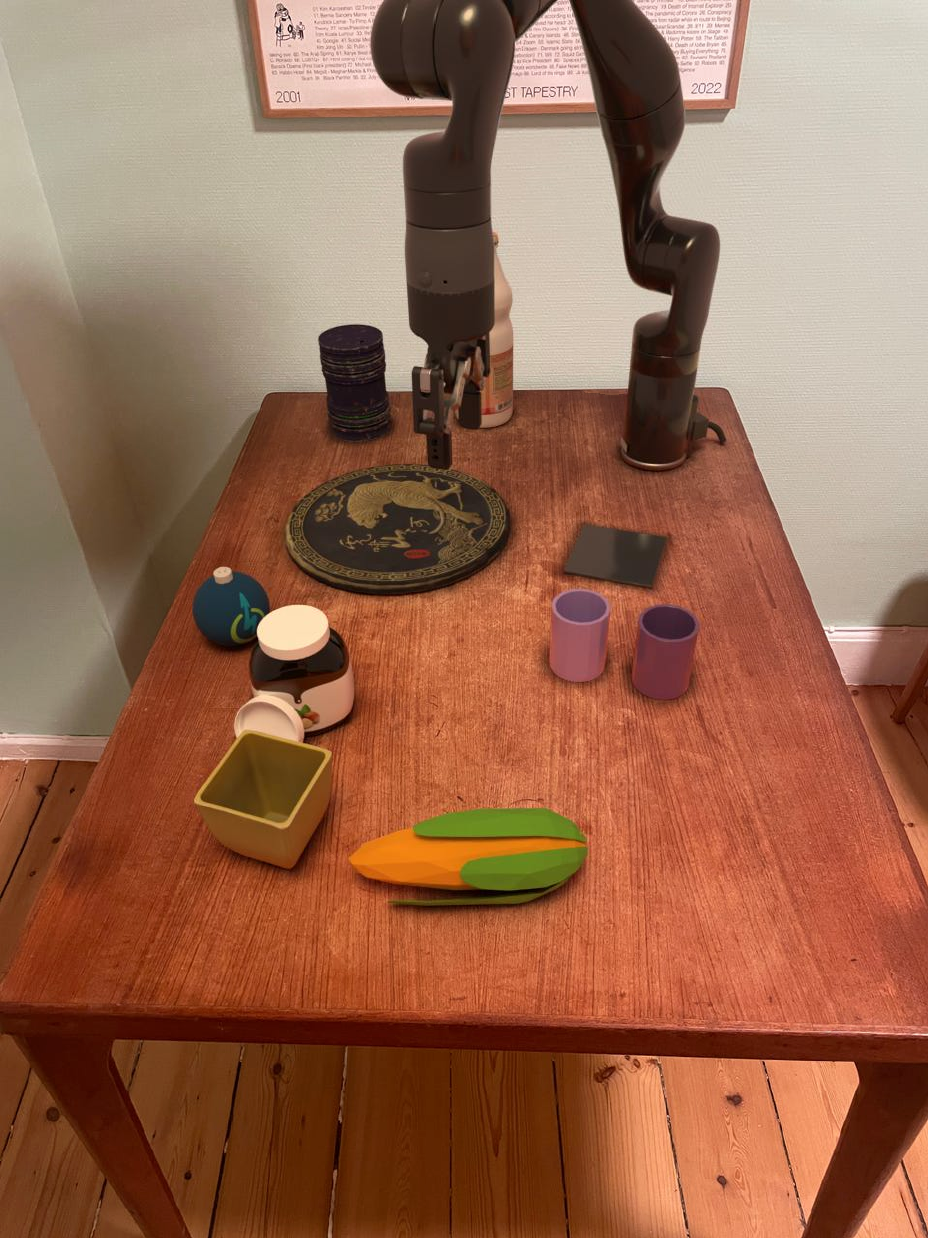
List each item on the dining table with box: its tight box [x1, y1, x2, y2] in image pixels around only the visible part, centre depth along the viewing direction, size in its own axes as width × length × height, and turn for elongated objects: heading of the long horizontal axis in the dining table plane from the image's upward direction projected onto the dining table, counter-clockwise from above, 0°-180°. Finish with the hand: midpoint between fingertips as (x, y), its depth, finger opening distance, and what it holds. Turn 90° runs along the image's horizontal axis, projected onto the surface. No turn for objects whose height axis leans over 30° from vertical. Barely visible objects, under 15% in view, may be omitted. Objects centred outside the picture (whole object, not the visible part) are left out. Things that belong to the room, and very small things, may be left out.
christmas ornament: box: [191, 566, 271, 647], centre depth 100 cm, size 8×8×10 cm
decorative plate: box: [284, 463, 511, 595], centre depth 119 cm, size 30×2×30 cm
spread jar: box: [233, 604, 355, 743], centre depth 88 cm, size 12×11×12 cm
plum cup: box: [631, 603, 700, 701], centre depth 93 cm, size 6×6×8 cm
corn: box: [347, 807, 589, 906], centre depth 74 cm, size 7×8×20 cm
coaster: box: [563, 523, 668, 590], centre depth 113 cm, size 11×11×1 cm
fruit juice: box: [454, 231, 515, 429], centre depth 136 cm, size 9×9×28 cm
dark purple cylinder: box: [317, 323, 392, 443], centre depth 138 cm, size 10×10×15 cm
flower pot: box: [193, 730, 333, 870], centre depth 78 cm, size 9×9×9 cm
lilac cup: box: [548, 588, 612, 683], centre depth 95 cm, size 6×6×8 cm
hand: (455, 446), depth 86 cm, fingers open, 8 cm apart
